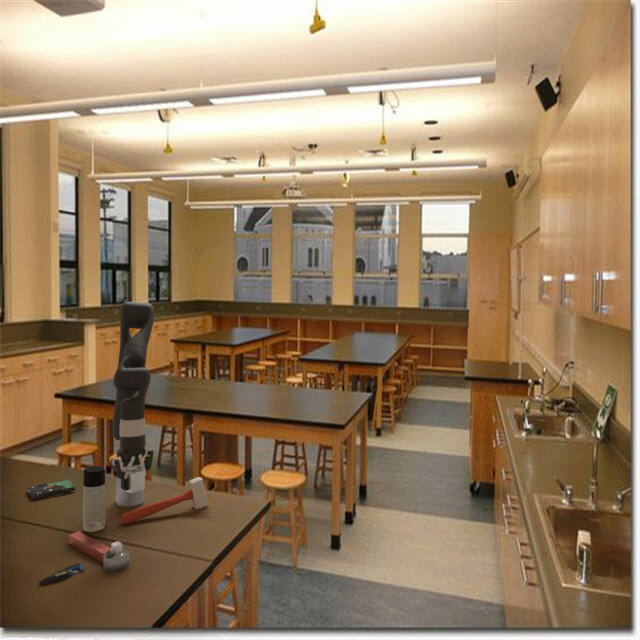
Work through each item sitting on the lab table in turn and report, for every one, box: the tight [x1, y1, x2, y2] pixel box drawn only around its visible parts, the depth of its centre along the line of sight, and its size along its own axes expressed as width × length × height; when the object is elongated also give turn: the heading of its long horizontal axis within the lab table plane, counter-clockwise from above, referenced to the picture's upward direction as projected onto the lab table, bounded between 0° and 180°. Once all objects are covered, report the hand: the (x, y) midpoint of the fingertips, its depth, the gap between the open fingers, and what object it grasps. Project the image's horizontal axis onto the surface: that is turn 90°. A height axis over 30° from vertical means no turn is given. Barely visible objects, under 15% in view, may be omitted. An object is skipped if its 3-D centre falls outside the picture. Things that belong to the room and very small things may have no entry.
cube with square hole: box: [121, 467, 146, 493], centre depth 166 cm, size 5×5×6 cm
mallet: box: [119, 476, 209, 526], centre depth 189 cm, size 11×4×30 cm
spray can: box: [82, 465, 106, 533], centre depth 177 cm, size 7×7×20 cm
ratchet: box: [68, 530, 131, 573], centre depth 160 cm, size 27×7×6 cm, turn 53°
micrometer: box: [38, 563, 84, 585], centre depth 148 cm, size 12×2×5 cm
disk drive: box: [27, 479, 76, 501], centre depth 208 cm, size 10×3×15 cm
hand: (133, 487), depth 166 cm, fingers closed on cube with square hole, 5 cm apart
